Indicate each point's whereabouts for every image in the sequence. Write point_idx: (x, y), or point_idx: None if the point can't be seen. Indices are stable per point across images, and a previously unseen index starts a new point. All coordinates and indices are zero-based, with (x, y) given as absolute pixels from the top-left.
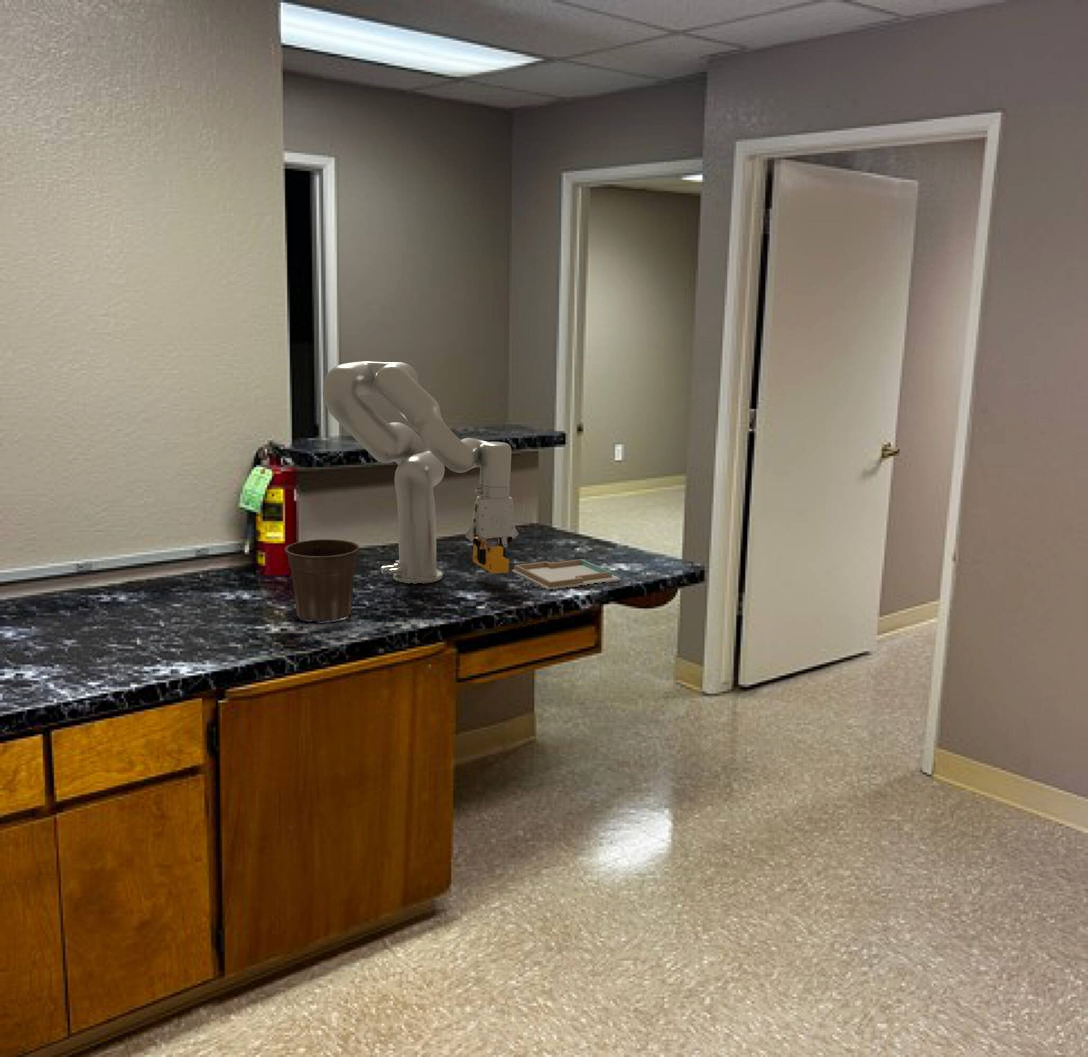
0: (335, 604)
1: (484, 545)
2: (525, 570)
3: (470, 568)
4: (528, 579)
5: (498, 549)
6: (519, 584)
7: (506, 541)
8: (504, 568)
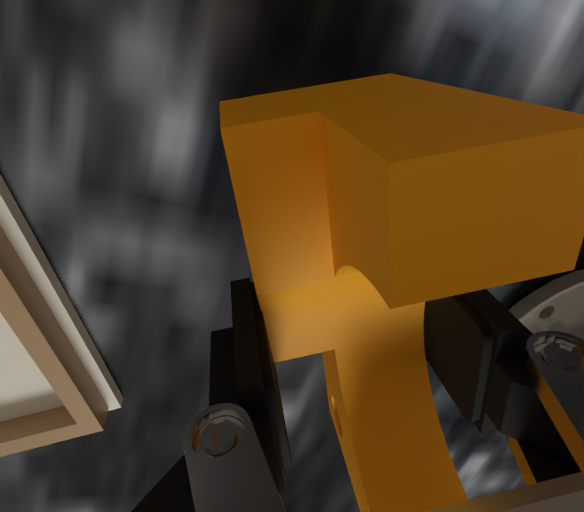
0: None
1: (546, 376)
2: (31, 326)
3: (307, 448)
4: (25, 227)
5: (487, 132)
6: (112, 133)
7: (205, 495)
8: (271, 99)
